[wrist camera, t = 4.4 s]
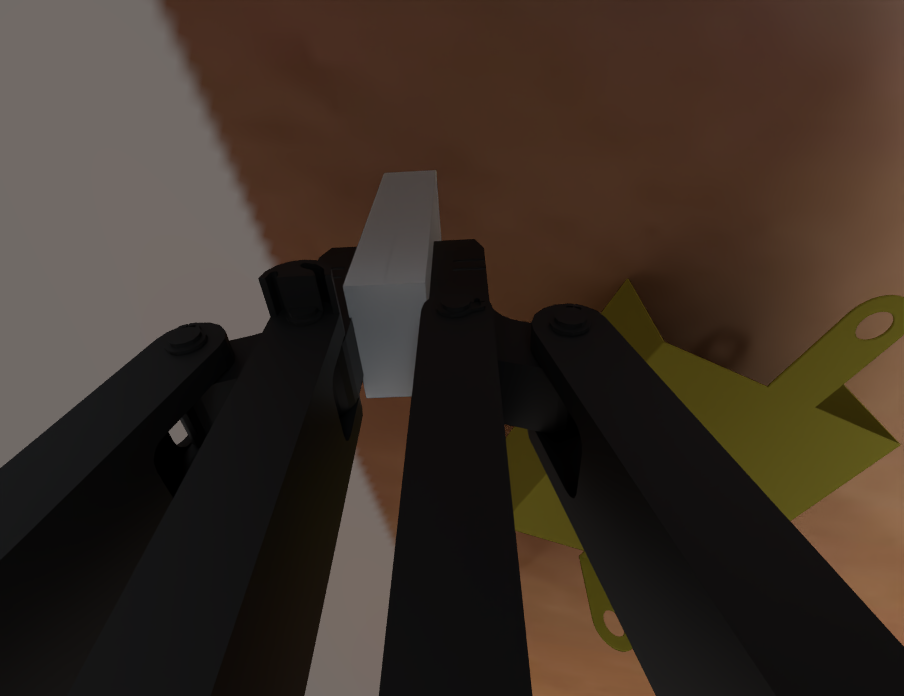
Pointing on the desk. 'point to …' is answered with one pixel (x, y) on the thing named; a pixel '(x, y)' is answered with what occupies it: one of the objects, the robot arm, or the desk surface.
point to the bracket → (737, 424)
